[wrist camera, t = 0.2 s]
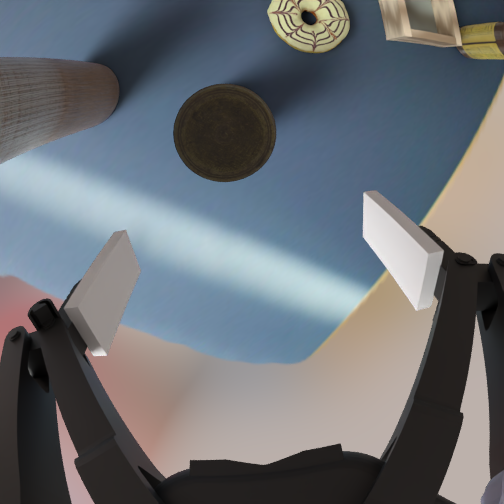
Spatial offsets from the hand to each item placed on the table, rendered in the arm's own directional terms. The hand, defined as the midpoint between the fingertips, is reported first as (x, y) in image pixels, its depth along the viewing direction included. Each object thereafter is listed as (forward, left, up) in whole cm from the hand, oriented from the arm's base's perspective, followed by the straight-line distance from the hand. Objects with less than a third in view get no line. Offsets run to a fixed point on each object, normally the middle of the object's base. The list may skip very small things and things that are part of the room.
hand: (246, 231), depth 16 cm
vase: (-13, -20, -28) cm, 37 cm away
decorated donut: (-17, +12, -28) cm, 35 cm away
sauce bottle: (-16, +41, -28) cm, 52 cm away
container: (-4, -1, -28) cm, 28 cm away
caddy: (-24, +30, -28) cm, 47 cm away
